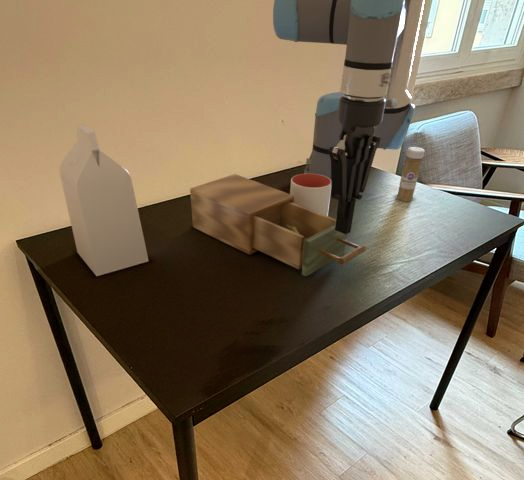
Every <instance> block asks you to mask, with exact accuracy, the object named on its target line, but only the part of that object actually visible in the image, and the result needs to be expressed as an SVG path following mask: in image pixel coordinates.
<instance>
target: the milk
mask: <svg viewBox="0 0 524 480" xmlns="http://www.w3.org/2000/svg"><path fill="white" fill-rule="evenodd" d="M76 136H77V140H76V141H75V143H74V144H73V145H72V147H71V148H70V149H69V151H68V152H67V154H66V155H65V156H64V157H63V159H62V161H61V162H60V165H59V176H60V179H61V186H62V189H63V193H64V198H65V202H66V207H67V211H68V216H69V221H70V225H71V229H72V235H73V239H74V242H75V243H74V244H75V248H76V253H77V254H78V255H79V257H80V258H81V259H82V260H83V261H84V263H85V264H86V265H87V266H88V268H89V269H90V270H91V271H92V273H93V274H94V275H95V276H96V277H99V276H102V275H105V274H110V273H114V272H116V271H117V272H118V271H120V270H124V269H127V268H130V267H134V266H138V265H140V264H144V263H147V262H150V260H149V257H148V251H147V247H146V241H145V237H144V232H143V227H142V222H141V219H140V213H139V209H138V208H139V207H138V204H137V198H136V194H135V190H134V185H133V180H132V178H131V177H132V176H131V174H130V173H129V171H128V169H126V168H124V167H123V166H122V165H121V164H119V163H117V162H116V161H115V160H114V159H113V158H111V157H110V156H109V155H107V154H106V153H104V152H103V151H102V150H101V149H100V146H99V145H100V144H99V142H98V138H97V135H96V132H95V131H94V130H93V129H91V128H89V127H88V126H86V125H85V124H78V125H76Z"/></svg>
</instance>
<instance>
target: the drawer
mask: <svg viewBox="0 0 524 480" xmlns="http://www.w3.org/2000/svg"><path fill="white" fill-rule="evenodd" d="M252 217H253V218H252V248H255V249H257V250H259V251H258V252H261V253H263V254H265V255H267V256H269V257H272V258H274V259H276V260H278V261H280V262H282V263H284V264H286V265H288V266H291V267H293V268H294V269H297V270H301V275H302V276H304V277H308V276H310V275H311V274H313V273H315V272H316V271H318V270H320V269H321V268H323V267H325V266H327V265H328V264H330V263H332V262H334V261H337V263H338V264H339V265H341V266H342V265H344V264H346V263H348V262H349V261H351V260H353V259H355V258H356V257H357V256H359V255H361V254H363V253H364V252H366V251H367V246H366V245H365V244H361V245H359V244H357V243H354V242H351V241H349V240H347V237H348V234H344V233H341V232H339V231H336V230H335V225H336V218H334V217H331V216H329V215H328V216H326V215H323V214H321V213H318V212H315V211H313V210H310V209H307V208H305V207H302V206H299V205H297V204H294V203H292V202H289V201H288V202H286V203H284V204H281V205H279V206H276V207H274V208H272V209H269V210H267V211H264V212H262V213H260V214H257V215H255V216H252ZM286 225H289V226H291V227H296V229H297V230H298V232H299V234H298V233H295V232H293V231H292V230H290V229H289V228H287V226H286ZM304 240H305V244H304V250H303V243H304ZM346 245H347V246H349V247H352V248H354V249H352V250H351V251H349V252H347V253H345V250H346V249H345V248H346Z"/></svg>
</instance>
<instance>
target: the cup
mask: <svg viewBox="0 0 524 480" xmlns="http://www.w3.org/2000/svg"><path fill="white" fill-rule="evenodd" d="M289 194H291V195H293V196H294V204H297V205H299V206H302V207H305V208H307V209H310V210H313V211H315V212H318V213H321V214H323V215H326V216H328V217H329V209H330V201H331V195H332V188H331V179H329V178H328V177H326V176H323V175H319V174H304V173H299V174H296V175H294V176H292V177H291V179H290V188H289Z"/></svg>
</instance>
